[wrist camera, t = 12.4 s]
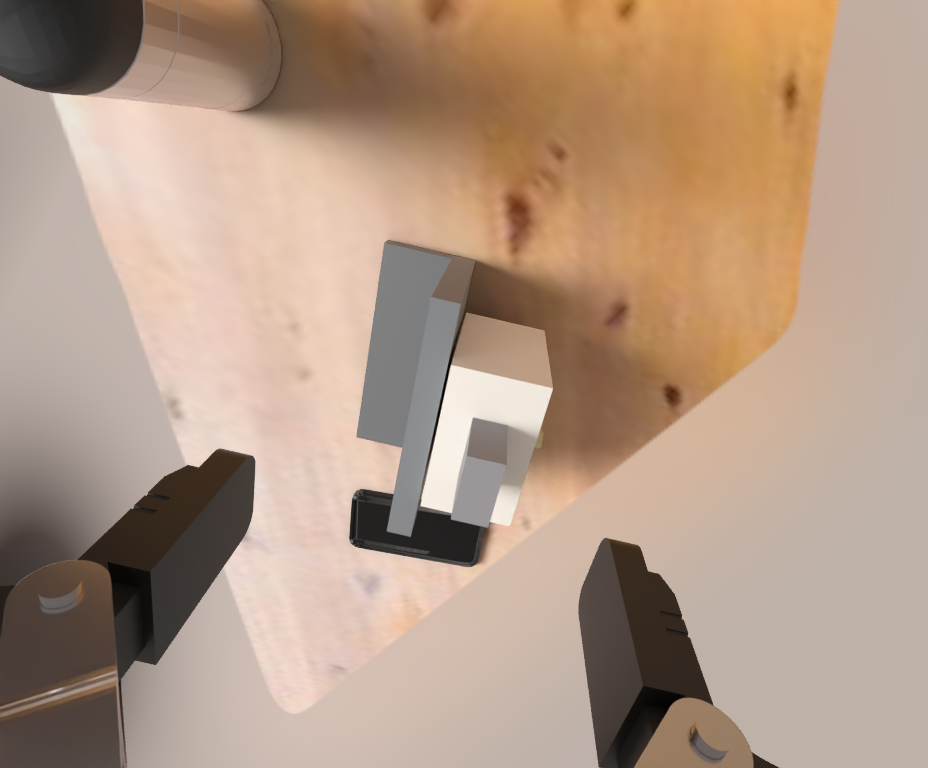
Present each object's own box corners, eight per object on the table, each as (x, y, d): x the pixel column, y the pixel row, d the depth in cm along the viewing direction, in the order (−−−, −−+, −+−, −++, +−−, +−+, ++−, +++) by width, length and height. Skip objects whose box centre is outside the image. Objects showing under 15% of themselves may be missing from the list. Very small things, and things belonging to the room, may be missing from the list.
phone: (352, 491, 58) (487, 515, 58) (355, 485, 59) (487, 508, 59) (348, 546, 62) (476, 569, 61) (351, 540, 63) (476, 562, 62)
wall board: (360, 429, 56) (314, 514, 43) (388, 239, 47) (341, 276, 35) (476, 456, 56) (464, 549, 43) (524, 271, 47) (528, 319, 35)
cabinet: (440, 428, 51) (408, 551, 36) (466, 312, 46) (441, 397, 31) (520, 447, 52) (523, 578, 36) (555, 333, 46) (575, 428, 31)
